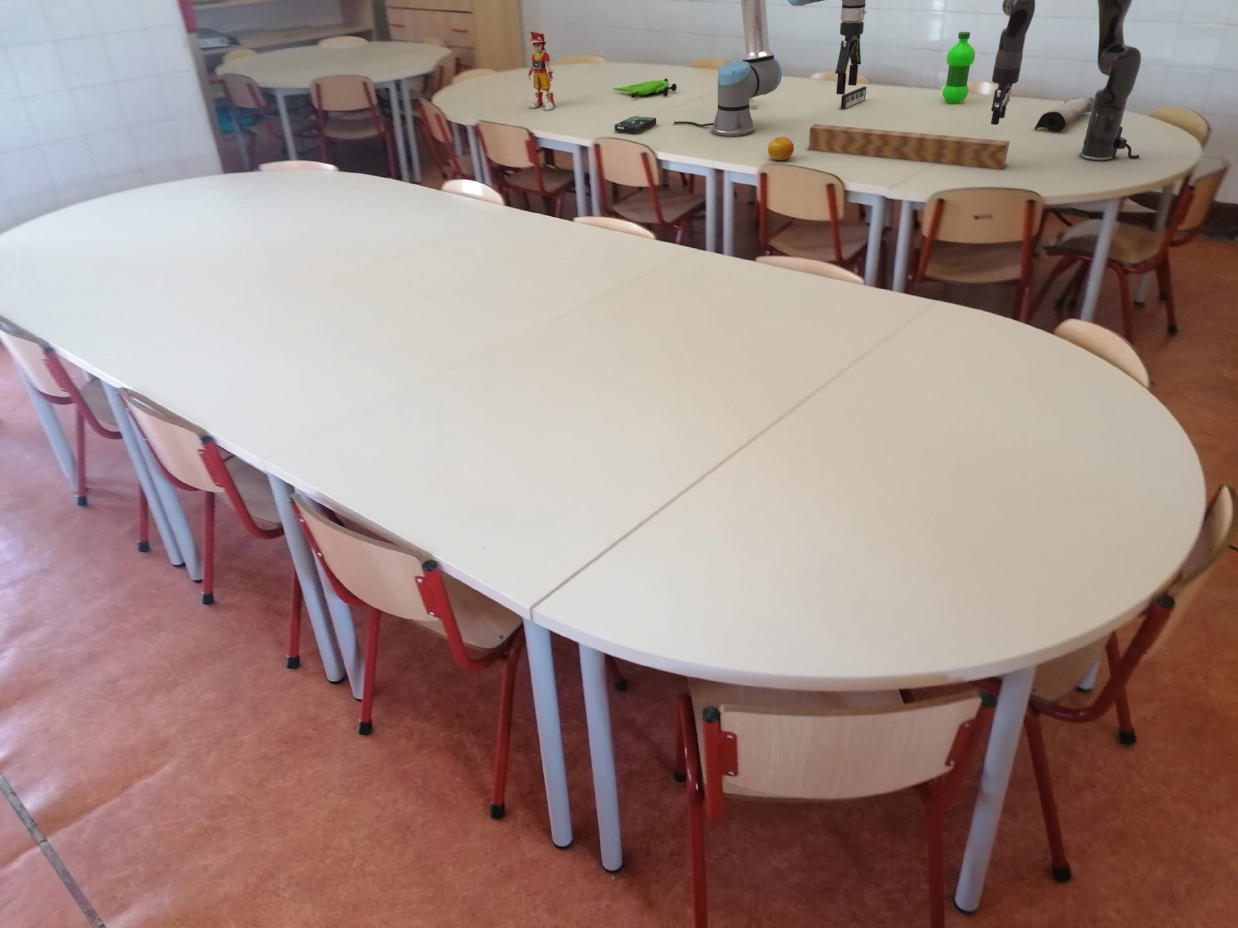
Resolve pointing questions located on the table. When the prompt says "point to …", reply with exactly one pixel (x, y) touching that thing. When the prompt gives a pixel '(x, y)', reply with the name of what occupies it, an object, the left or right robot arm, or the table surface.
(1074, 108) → the rolled mat
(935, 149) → the beam
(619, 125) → the disk drive
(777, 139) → the fruit
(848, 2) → the left robot arm
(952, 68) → the plastic bottle
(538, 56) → the toy
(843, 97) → the midi keyboard
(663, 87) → the toy
